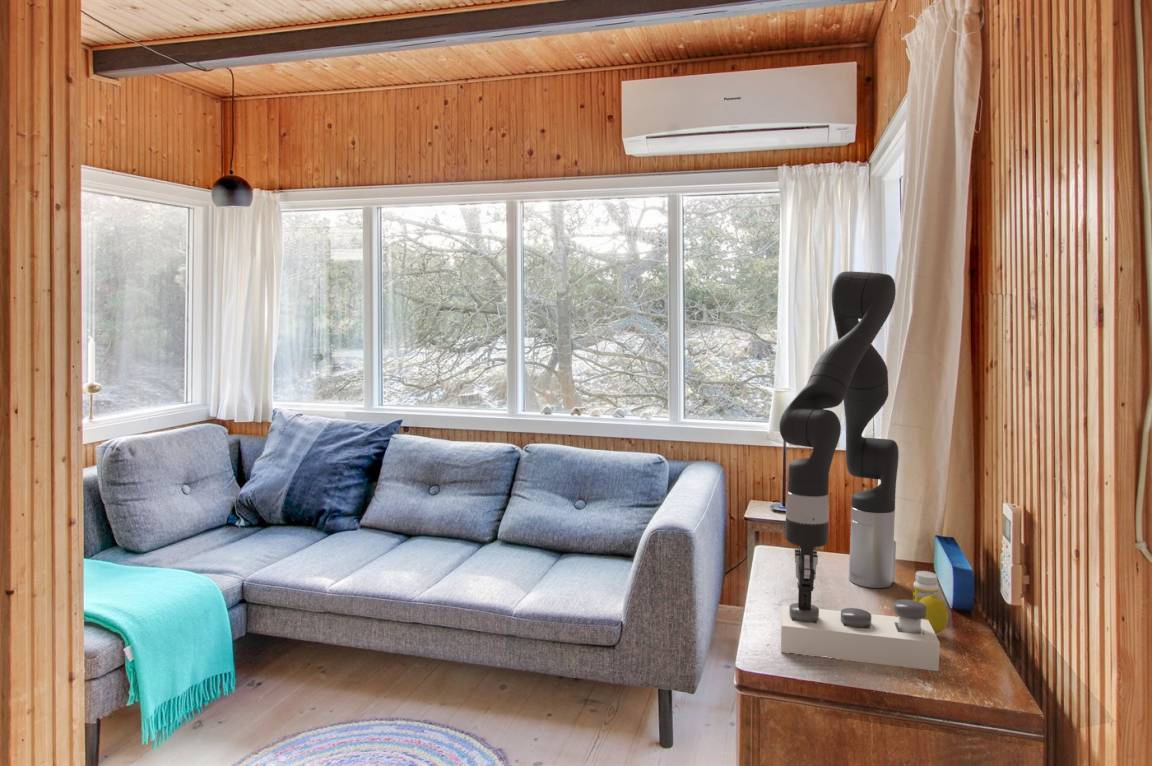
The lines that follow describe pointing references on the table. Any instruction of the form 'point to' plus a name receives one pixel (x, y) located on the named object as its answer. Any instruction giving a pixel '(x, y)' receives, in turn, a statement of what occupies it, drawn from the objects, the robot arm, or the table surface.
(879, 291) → the robot arm
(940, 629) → the lemon
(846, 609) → the knob middle
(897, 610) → the knob
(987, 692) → the table surface
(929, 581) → the supplement bottle
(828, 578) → the table surface
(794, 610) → the knob
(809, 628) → the knob panel
